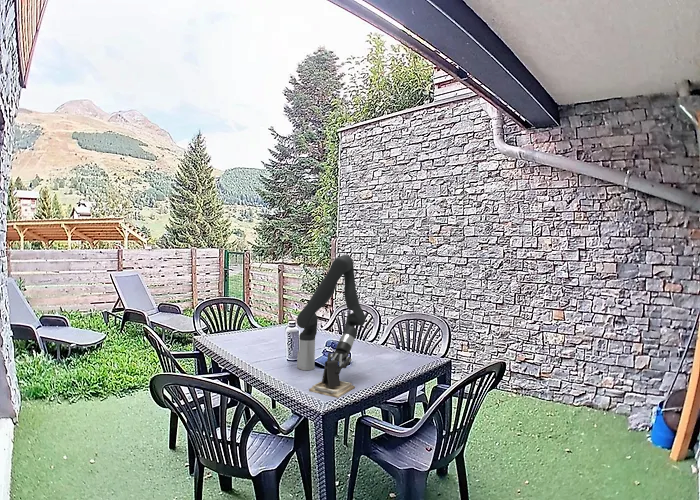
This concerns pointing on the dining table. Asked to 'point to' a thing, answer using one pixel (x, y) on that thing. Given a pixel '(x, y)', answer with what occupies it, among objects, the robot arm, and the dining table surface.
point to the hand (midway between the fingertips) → (332, 373)
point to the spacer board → (332, 389)
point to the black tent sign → (331, 374)
